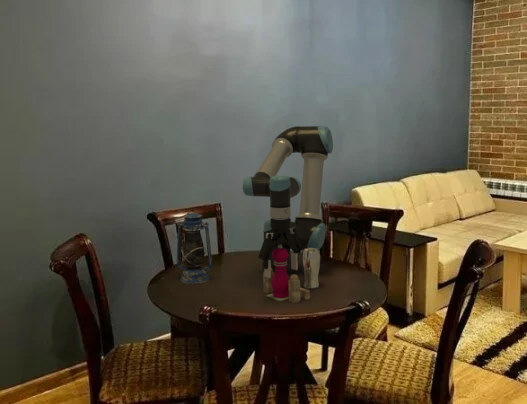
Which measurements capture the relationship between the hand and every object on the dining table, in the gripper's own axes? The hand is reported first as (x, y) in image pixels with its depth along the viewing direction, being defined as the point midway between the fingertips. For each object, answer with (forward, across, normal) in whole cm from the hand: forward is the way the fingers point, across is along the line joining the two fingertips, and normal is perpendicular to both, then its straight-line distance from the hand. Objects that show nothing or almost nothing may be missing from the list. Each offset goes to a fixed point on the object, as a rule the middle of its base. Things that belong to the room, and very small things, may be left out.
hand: (281, 273), depth 207 cm
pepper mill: (+9, 0, 0) cm, 9 cm away
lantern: (+9, -12, +41) cm, 44 cm away
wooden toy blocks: (+9, +1, 0) cm, 9 cm away
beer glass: (+9, +17, +1) cm, 19 cm away
